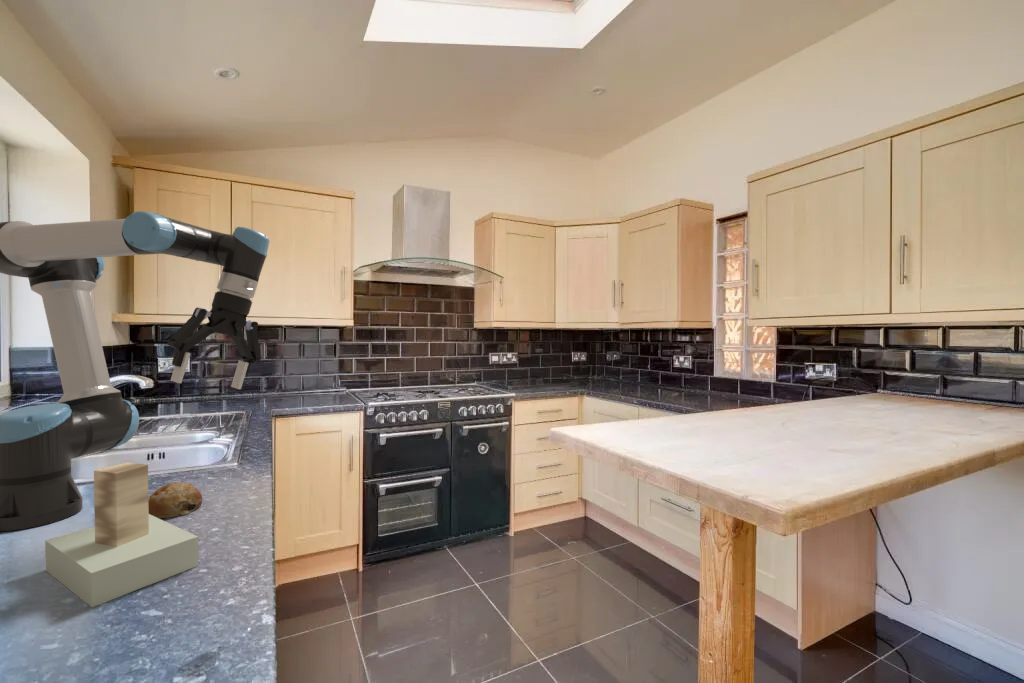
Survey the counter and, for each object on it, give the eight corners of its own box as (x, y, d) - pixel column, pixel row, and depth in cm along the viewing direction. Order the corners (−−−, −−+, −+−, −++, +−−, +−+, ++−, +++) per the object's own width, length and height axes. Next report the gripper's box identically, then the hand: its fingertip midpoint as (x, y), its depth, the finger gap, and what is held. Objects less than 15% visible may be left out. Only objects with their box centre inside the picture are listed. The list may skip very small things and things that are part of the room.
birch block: (94, 542, 76) (93, 470, 76) (127, 530, 81) (126, 462, 81) (116, 547, 75) (115, 473, 74) (148, 534, 80) (148, 464, 79)
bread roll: (164, 538, 97) (177, 505, 97) (128, 514, 99) (140, 481, 98) (204, 519, 107) (216, 489, 106) (170, 497, 109) (182, 468, 108)
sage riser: (45, 570, 77) (45, 540, 77) (145, 538, 89) (145, 512, 89) (91, 607, 67) (91, 573, 67) (198, 565, 79) (198, 536, 79)
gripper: (188, 280, 94) (156, 382, 91) (291, 310, 116) (267, 393, 114) (167, 276, 97) (136, 375, 95) (271, 306, 119) (247, 387, 117)
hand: (207, 385), depth 104 cm, fingers open, 13 cm apart
